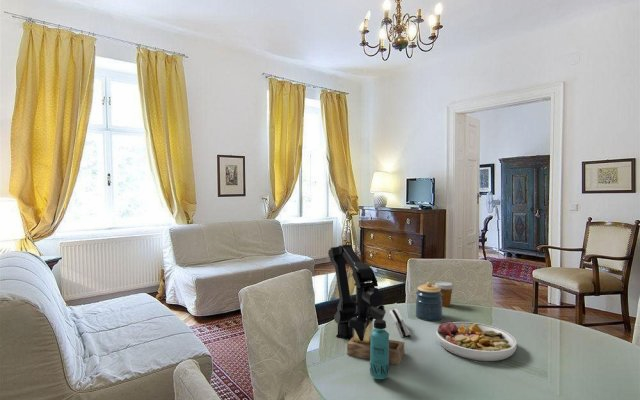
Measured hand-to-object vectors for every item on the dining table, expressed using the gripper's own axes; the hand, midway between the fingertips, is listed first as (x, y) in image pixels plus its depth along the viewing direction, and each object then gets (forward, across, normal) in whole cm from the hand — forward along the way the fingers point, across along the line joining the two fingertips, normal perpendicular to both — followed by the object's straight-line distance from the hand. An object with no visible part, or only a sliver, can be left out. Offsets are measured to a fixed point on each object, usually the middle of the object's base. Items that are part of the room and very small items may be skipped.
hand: (363, 338), depth 145 cm
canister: (+6, +51, -18) cm, 54 cm away
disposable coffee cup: (+6, +73, -23) cm, 77 cm away
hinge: (+6, +28, -8) cm, 30 cm away
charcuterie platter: (+6, +23, -40) cm, 46 cm away
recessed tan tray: (+5, 0, -5) cm, 7 cm away
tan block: (+2, 0, 0) cm, 2 cm away
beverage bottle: (+6, -17, -11) cm, 21 cm away
